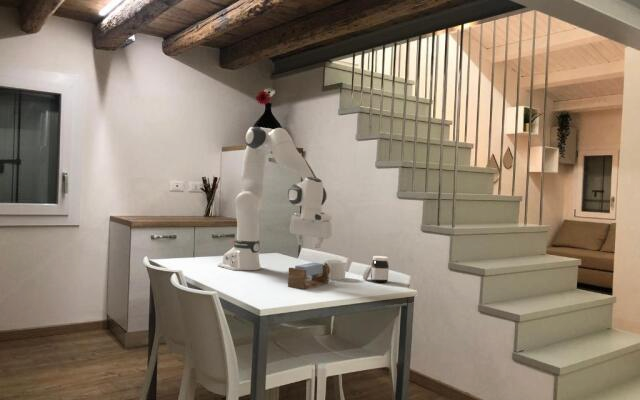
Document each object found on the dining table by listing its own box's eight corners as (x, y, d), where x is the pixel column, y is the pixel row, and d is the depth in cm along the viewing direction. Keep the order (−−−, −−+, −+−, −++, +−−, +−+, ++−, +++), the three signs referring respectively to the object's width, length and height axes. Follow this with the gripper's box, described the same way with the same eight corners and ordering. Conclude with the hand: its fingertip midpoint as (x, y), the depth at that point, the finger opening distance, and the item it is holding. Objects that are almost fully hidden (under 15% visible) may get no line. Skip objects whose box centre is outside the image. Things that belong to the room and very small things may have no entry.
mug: (350, 279, 247) (350, 262, 247) (331, 280, 241) (332, 263, 241) (333, 274, 258) (334, 258, 258) (315, 275, 252) (316, 259, 252)
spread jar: (389, 284, 239) (390, 258, 239) (365, 283, 239) (366, 257, 238) (384, 279, 251) (385, 255, 251) (361, 278, 251) (362, 254, 250)
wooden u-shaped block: (303, 289, 218) (304, 270, 218) (288, 286, 223) (288, 267, 222) (328, 283, 234) (329, 265, 234) (313, 280, 238) (314, 263, 238)
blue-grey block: (304, 276, 221) (304, 267, 221) (294, 275, 224) (295, 265, 224) (322, 272, 233) (323, 263, 233) (313, 271, 235) (313, 262, 235)
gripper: (287, 212, 231) (285, 243, 231) (326, 217, 219) (323, 250, 219) (296, 212, 236) (294, 243, 236) (334, 217, 224) (332, 249, 225)
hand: (308, 246), depth 228 cm, fingers open, 8 cm apart
